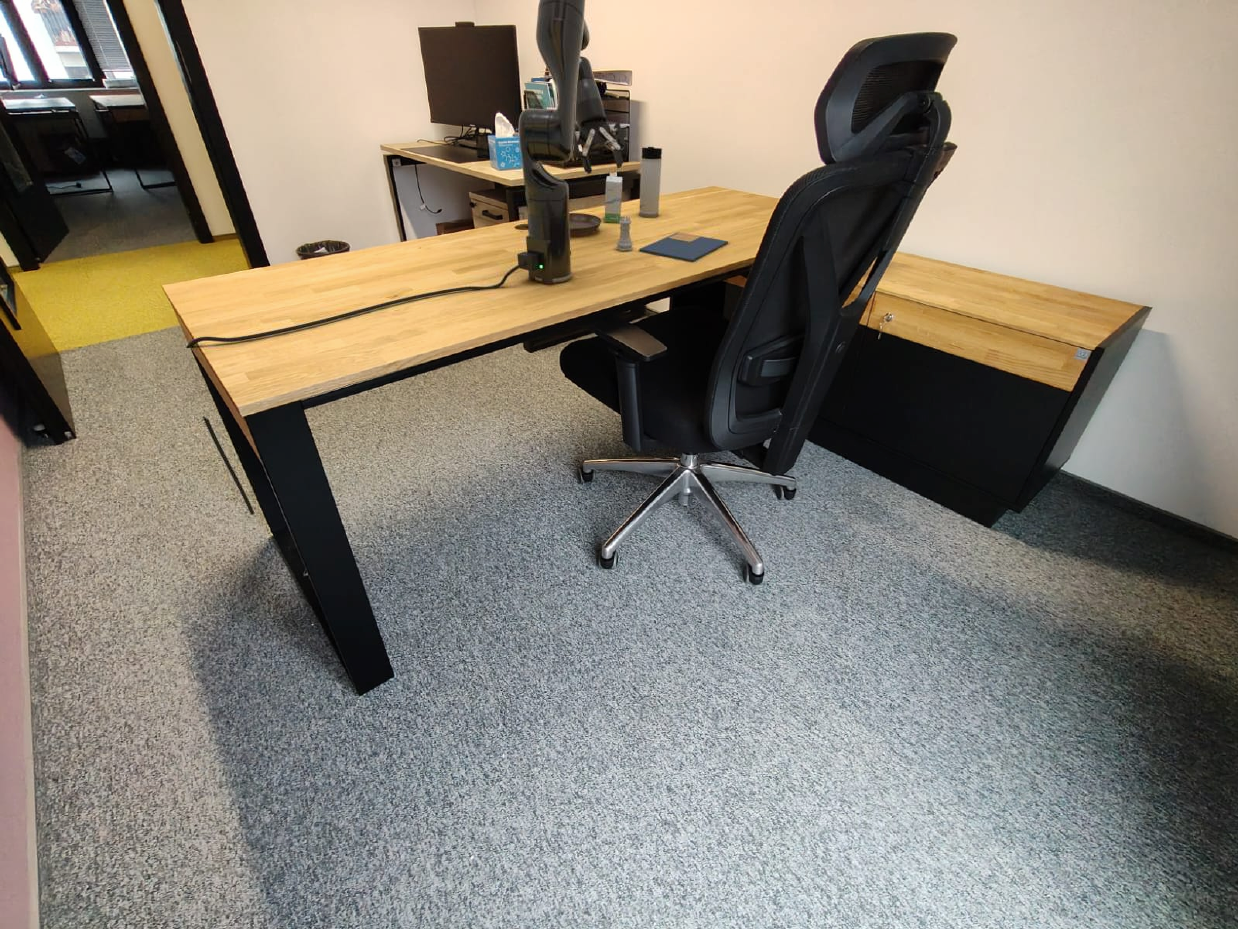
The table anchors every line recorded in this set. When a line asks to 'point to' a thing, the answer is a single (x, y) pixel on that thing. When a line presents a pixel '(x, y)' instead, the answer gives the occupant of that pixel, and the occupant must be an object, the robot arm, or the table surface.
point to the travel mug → (650, 181)
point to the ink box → (613, 199)
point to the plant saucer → (583, 224)
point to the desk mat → (684, 246)
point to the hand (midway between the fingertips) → (605, 169)
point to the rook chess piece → (624, 235)
